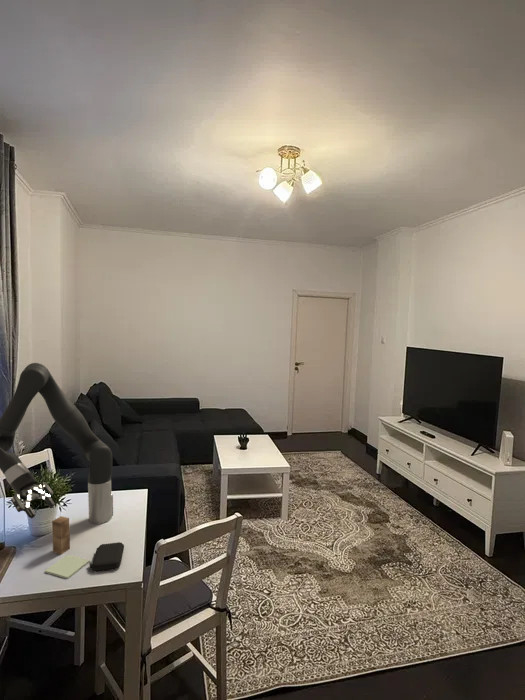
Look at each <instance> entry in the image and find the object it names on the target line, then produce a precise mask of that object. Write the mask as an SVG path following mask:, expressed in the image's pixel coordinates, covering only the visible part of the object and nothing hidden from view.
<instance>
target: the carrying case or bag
mask: <svg viewBox="0 0 525 700" xmlns="http://www.w3.org/2000/svg"><path fill="white" fill-rule="evenodd" d="M124 549H125V544H123V543H122V542H120V541H119V542H112V543H109V542H108V543H104V544H100V545H99V546H98V547H97V548H96V550H95V553H94V557H93V560H92V562H91V561H90V562H89V563H88V564H89V568H90V569H91V570H92V571H93V572H95V573H99V572H108V571H115V570H117V569H119V567H120V566H121V564H122V560H123V555H124V551H125V550H124Z"/></svg>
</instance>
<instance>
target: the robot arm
mask: <svg viewBox="0 0 525 700" xmlns="http://www.w3.org/2000/svg"><path fill="white" fill-rule="evenodd" d="M38 393H39V395H40V396H41V397H42V398H43V399H44V402H45V404H46V407H47V408H48V411H49V414H50V415H51V417H52V418H53V420H54V421H55V423H56V424H58V426H59V428H60V429H62V431H64V433H66V434H67V436H68V437H70V438H72V440H73V441H75V442H76V444H77V445H78V446H79V447H80V450H82V452H83V455H85V458H86V459H87V461H89V473H88V476H87V491H88V492H87V493H88V494H87V495H88V496H87V497H88V499H87V500H88V522H89V523H90V524H94V525H98V524H103V523H106V522H108V521H110V520H111V519H112V517H113V515H114V494H113V493H112V475H113V451H112V450H111V448H110V447H109V446H108V445H107V444H106V443H104V442H103V441H102V440H101V439H100V438H99V437H98V436H97V435H96V434H95V433H94V432H93V431H92V430H91V428H90V425H89V424H88V422H87V420H86V418H85V417H84V415H83V413H82V412H81V411H80V410H79V409H78V408H77V406H76V404H74V403H73V402H72V400H71V399H70V398H69V397H68V395H67V394H66V393H65V392H64V391H63V390H62V389H61V387H60V386H59V385H58V383H57V381H56V380H55V379H54V376H53V375H52V374H51V372H50V370H49V369H48V368H47V367H46V366H45V365H43V364H42V363H39V362H32V363H29V364H27V365H26V366H25V368H24V369H23V370H22V372H21V373H20V375H19V380H18V382H17V386H16V389H15V392H14V394H13V396H12V398H11V400H10V401H9V404H8V405H7V406H6V408H5V409H4V411H3V413H2V415H1V417H0V470H1V472H2V474H3V475H4V477H5V479H6V481H7V482H8V484H9V485H10V487H11V489H13V491H14V492H15V493H14V495H13V496H12V497H11V499H10V501H11V503H12V504H13V506H14V508H15V509H16V512H18V513H20V512H24V513H25V514H26V515H27V517H28V518H30V519H32V520H33V518H35V517H36V515H37V514H36V512H35V511H34V510H33V509H32V506H30V505H31V502H32V501H34V500H38V499H39V500H44V501H45V503H46V504H47V506H48V508H49V509H52V508H54V507H55V506H56V505H55V504H56V503H55V502H54V500H53V498H52V497H51V496H52V495H53V494H54V491H53V490H52V488H51V487H50V486H49V485H48V483H47V482H46V481H43V482H42V483H41V484H38V483H37V480H36V478H35V477H34V475H33V474H32V473H31V472H30V470H29V468H28V467H27V466H26V465H25V464H24V462H22V460H21V459H20V457H19V455H18V454H16V453H14V452H8V451H9V450H11V449H12V447H13V445H14V442H15V436H16V433H17V432H16V431H17V430H18V428H19V426H20V424H21V423H22V421H23V418H24V417H25V415H26V412H27V410H28V408H29V406H30V404H31V402H32V401H33V399H34V398H35V397H36V396H37V394H38ZM43 490H44V491H43ZM46 491H48V492H49V494H48V493H46ZM21 500H22V501H21Z"/></svg>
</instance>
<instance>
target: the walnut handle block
mask: <svg viewBox="0 0 525 700" xmlns="http://www.w3.org/2000/svg"><path fill="white" fill-rule="evenodd" d="M51 526H52V527H51V528H52V553H55V554H58V555H63V554H64V553H66V552H68V551H69V550H70V549H71V542H70V541H71V540H70V539H71V538H70V534H71V533H70V517H66V516H62V515H61V516H59V517H56V518H55V519H54V520H52V521H51Z"/></svg>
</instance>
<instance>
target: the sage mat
mask: <svg viewBox="0 0 525 700" xmlns="http://www.w3.org/2000/svg"><path fill="white" fill-rule="evenodd" d="M90 562H91V561H90V559H87V558H83V557H79V556H75V555H71V554H66V555H65V556H64V557H62V558H61V559H59V560H58V561H56V562H55V563H53V564H52V565H51V566H49V567H48V568H46V569H45V570H44V573H46V574H49V575H52V576H55V577H59V578H63V579H67V580H68V579H69V578H72V577H73V576H74V575H75V574H76V573H78V572H79V571H80V570H81V569H83V567H85V566H86V565H88V564H90Z"/></svg>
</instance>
